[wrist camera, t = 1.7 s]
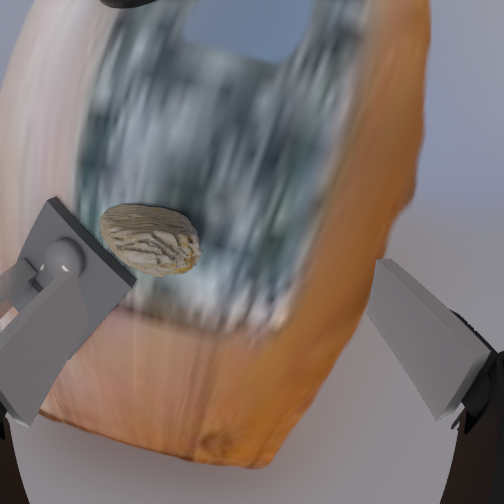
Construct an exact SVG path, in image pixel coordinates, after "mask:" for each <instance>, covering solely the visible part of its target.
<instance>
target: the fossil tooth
mask: <svg viewBox="0 0 504 504" xmlns="http://www.w3.org/2000/svg"><path fill="white" fill-rule="evenodd" d="M100 224H101V225H100V230H101V233H102V237H103V239H104V241H105V242H106V244H107V245H108V246H109V247H110V249H111V250H112V251H113V252H114V254H115V255H116V256H117V257H118V258H119V259H121V260H122V261H123V262H124V263H126V264H127V265H129V266H131V267H133V268H135V269H137V270H139V271H141V272H144V273H146V274H149V275H153V276H157V277H164V276H166V275H167V274H184V273H186V272H188V271H189V270H191V269H192V268H193V266H195V265H196V264H197V262H198V260H199V258H200V255H201V253H202V250H201V248H200V244H199V237H198V235H197V231H196V229H195V228H194V227H193V226H192V225H191V222H190V221H189V219H188V218H187V217H186V216H184V215H182V214H180V213H179V212H175V211H170V210H169V209H165V208H160V207H147V206H143V205H140V206H139V205H126V204H123V205H118V206H115V208H110V209H107V211H106V212H104V214H103V215H102V217H101V220H100Z"/></svg>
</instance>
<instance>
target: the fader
mask: <svg viewBox="0 0 504 504" xmlns="http://www.w3.org/2000/svg"><path fill="white" fill-rule="evenodd" d="M36 274H37V272H36V271H35V270H34V269H33V268H32V267H31V265H30V264H29V263H28V262H27V261H26V260H25V258H23V259H22V260H20V261H19V262H18V263H16V264H15V265H13V266H12V267H11V268H9V269H8V270H7V271H5V272H4V273H3V274H1V275H0V319H1V318H2V317H3V316H4V315H5V314H6V313H7V312H8V311H9V310H10V309H11V308H12V307H13V306H14V305H15V304H16V303H17V302H18V301H19V300H21V299H22V298H23V297H24V296H25V295H26V294H27V293H28V291H29V289H30V287H31V285H32V283H33V281H34V278H35V276H36Z"/></svg>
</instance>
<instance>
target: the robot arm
mask: <svg viewBox="0 0 504 504" xmlns="http://www.w3.org/2000/svg"><path fill="white" fill-rule="evenodd" d="M100 1H101V2H102V3H103V4H105V5H107V6H109V7H113V8H130V7H136V6H140V5H143V4H146V3H149V2H152V1H154V0H100ZM367 315H368V316H369V318H370V319H371V321H372V322H373V324H374V325H375V326H376V328H377V329H378V331H379V332H380V334H381V335H382V336H383V338H384V339H385V341H386V342H387V344H388V345H389V347H390V348H391V350H392V351H393V353H394V354H395V356H396V357H397V359H398V360H399V361H400V363H401V365H402V366H403V368H404V369H405V371H406V373H407V374H408V376H409V377H410V379H411V380H412V382H413V383H414V385H415V387H416V388H417V390H418V392H419V393H420V394H421V396H422V398H423V400H424V401H425V403H426V404H427V406H428V407H429V409H430V411H431V413H432V414H433V416H434V418H435V419H436V421H438V420H441V419H443V418H445V417H447V416H449V415H451V414H453V413H454V411H455V410H456V409H457V407H458V406H459V404H460V403H461V402H462V403H463V405H464V406H465V408H464V409H463V411H462V412H461V413H460V415H459V416H458V418H457V419H456V420H455V421H454V423H453V424H452V427H451V429H454V427H455V426H456V425H457V424H458V422H460V424H459V427H458V429H457V430H458V436H457V442H456V446H455V451H454V456H453V461H452V464H451V468H450V473H449V476H448V479H447V483H446V486H445V489H444V492H443V496H442V498H441V501H440V504H504V351H502V352H500V353H497V352H496V351H495V350H494V349H493V348H492V347H491V345H490V344H489V343H488V342H487V341H486V340H485V339H484V338H483V337H482V336H481V335H480V334H479V333H478V332H477V331H474V328H473V327H471V325H470V324H468V323H467V321H465V320H464V319H463V318H462V317H461V316H460V315H459V314H457V313H455V312H454V311H452V310H450V309H448V308H447V307H446V306H445V305H444V304H443V303H441V302H440V301H439V300H438V299H437V298H436V297H435V296H434V295H433V294H432V293H430V292H429V291H428V290H427V289H426V288H425V287H424V286H423V285H421V284H420V283H419V282H418V281H417V280H416V279H415V278H413V277H412V276H411V275H410V274H409V273H408V272H406V271H405V270H404V269H403V268H402V267H400V266H399V265H398V264H397V263H396V262H394V261H393V260H392V259H376V266H375V272H374V278H373V283H372V289H371V294H370V299H369V304H368V309H367ZM90 324H91V320H90V318H89V315H88V312H87V309H86V306H85V302H84V299H83V296H82V293H81V289H80V286H79V282H78V279H77V275H76V271H63V272H62V273H61V274H59V275H58V276H57V277H56V278H55V279H54V280H53V281H52V282H51V283H50V284H48V285H47V286H46V287H45V288H44V289H43V290H42V291H41V292H40V293H39V294H38V295H37V296H36V297H35V298H34V299H33V300H32V301H31V302H30V303H29V304H28V305H27V306H26V307H25V308H24V309H23V310H22V311H21V312H20V313H19V314H18V315H17V316H16V317H15V318H14V319H13V320H12V321H11V322H10V323H9V324H8V325H7V326H6V327H5V329H4V330H3V331H2V332H1V333H0V504H30V503H29V501H28V498H27V495H26V492H25V489H24V486H23V483H22V479H21V476H20V472H19V468H18V464H17V460H16V456H15V452H14V447H13V442H12V436H11V431H10V425H9V422H8V419H7V418H6V417H5V415H6V413H7V411H8V413H9V414H10V415H11V416H12V418H13V419H14V420H15V421H16V422H17V423H19V424H22V425H24V426H26V427H29V428H30V427H31V425H32V423H33V421H34V419H35V417H36V415H37V413H38V411H39V409H40V407H41V405H42V403H43V402H44V400H45V398H46V396H47V394H48V392H49V391H50V389H51V387H52V385H53V384H54V382H55V380H56V378H57V377H58V375H59V373H60V372H61V370H62V368H63V367H64V365H65V363H66V362H67V360H68V358H69V357H70V355H71V353H72V352H73V350H74V349H75V347H76V346H77V344H78V342H79V341H80V339H81V338H82V336H83V335H84V333H85V332H86V330H87V329H88V327H89V326H90Z"/></svg>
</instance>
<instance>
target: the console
mask: <svg viewBox="0 0 504 504" xmlns="http://www.w3.org/2000/svg"><path fill="white" fill-rule="evenodd" d="M23 258H25V260H26V261H27V262H28V263H29V264H30V265H31V267H32V268H33V269H34V270H35V271H36V272H37V274H36V276H35V278H34V281H33V283H32V285H31V287H30V289H29V291H28V293H27V294H26V295H25V296H24V297H23V298H22V299H21V300H19V301H18V302H17V303H16V304H15V305H14V307H15V308H16V310H17V311H18V312H19V313H20V312H21V311H22V310H23V309H24V308H25V307H26V306H27V305H28V304H29V303H30V302H31V301H32V300H33V299H34V298H35V297H36V296H37V295H38V294H39V293H40V292H41V291H42V290H43V289H44V288H45V287H46V286H47V285H48V284H50V283H51V282H52V281H53V280H54V279H55V278H56V277H57V276H58V275H59V274H61V273H62V272H63V271H76V275H77V279H78V282H79V286H80V289H81V293H82V296H83V299H84V302H85V306H86V309H87V312H88V315H89V318H90V320H91V324H90V326H89V327H88V329H87V330H86V332H85V333H84V335H83V336H82V338H81V339H80V341H79V342H78V344H77V346H76V347H75V349H74V350H73V352H72V353H71V355H70V357H69V358H68V360H70V358H71V357H72V356H73V355H74V353H75V352H76V351H77V350H78V349H79V347H80V346H81V345H82V344H83V342H84V341H85V340H86V339H87V338H88V336H89V335H90V334H91V333H92V332H93V331H94V329H95V328H96V327H97V326H98V325H99V324H100V322H101V321H102V320H103V319H104V318H105V317H106V315H107V314H108V313H109V312H110V311H111V310H112V309H113V308H114V306H115V305H116V304H117V303H118V302H119V301H120V300H121V299H122V297H123V296H124V295H125V294H126V293H127V292H128V291H129V290H130V289H131V288H132V286H133V285H134V283H135V281H136V280H137V279H136V278H135V277H133V276H132V275H131V274H130V273H129V272H128V271H127V270H126V269H125V268H124V267H123V266H122V265H121V264H120V263H119V262H118V261H116V260H115V259H114V258H113V257H112V256H111V255H110V254H109V253H108V252H107V251H106V250H105V249H104V248H103V247H102V246H101V245H100V244H99V243H98V242H97V241H96V240H95V239H94V238H93V237H92V236H91V235H90V233H89V232H88V231H87V230H86V229H85V228H84V227H83V226H82V225H81V224H80V223H79V222H78V221H77V220H76V219H75V218H74V216H73V215H72V214H71V213H70V212H69V211H68V210H67V209H66V208H65V206H64V205H63V204H62V203H61V202H60V201H59V200H58V198H57V197H54V198H51V199H49V200H47V201H46V203H45V204H44V206H43V208H42V210H41V212H40V214H39V215H38V217H37V219H36V221H35V223H34V225H33V227H32V229H31V231H30V233H29V235H28V237H27V240H26V242H25V244H24V246H23V248H22V251H21V253H20V255H19V258H18V260H17V262H16V263H18V262H19V261H20V260H22V259H23Z"/></svg>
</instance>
